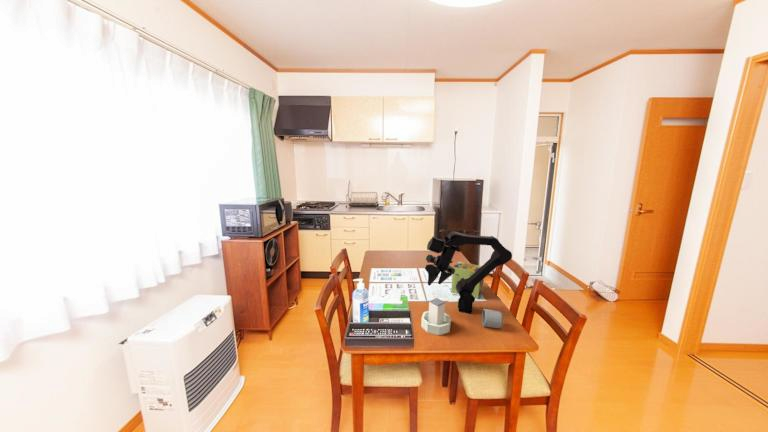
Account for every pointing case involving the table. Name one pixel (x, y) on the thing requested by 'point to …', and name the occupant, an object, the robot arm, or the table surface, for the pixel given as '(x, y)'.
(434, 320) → the pebble canister
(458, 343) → the table surface
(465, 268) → the protein box
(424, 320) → the sage bowl
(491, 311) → the ceramic mug
